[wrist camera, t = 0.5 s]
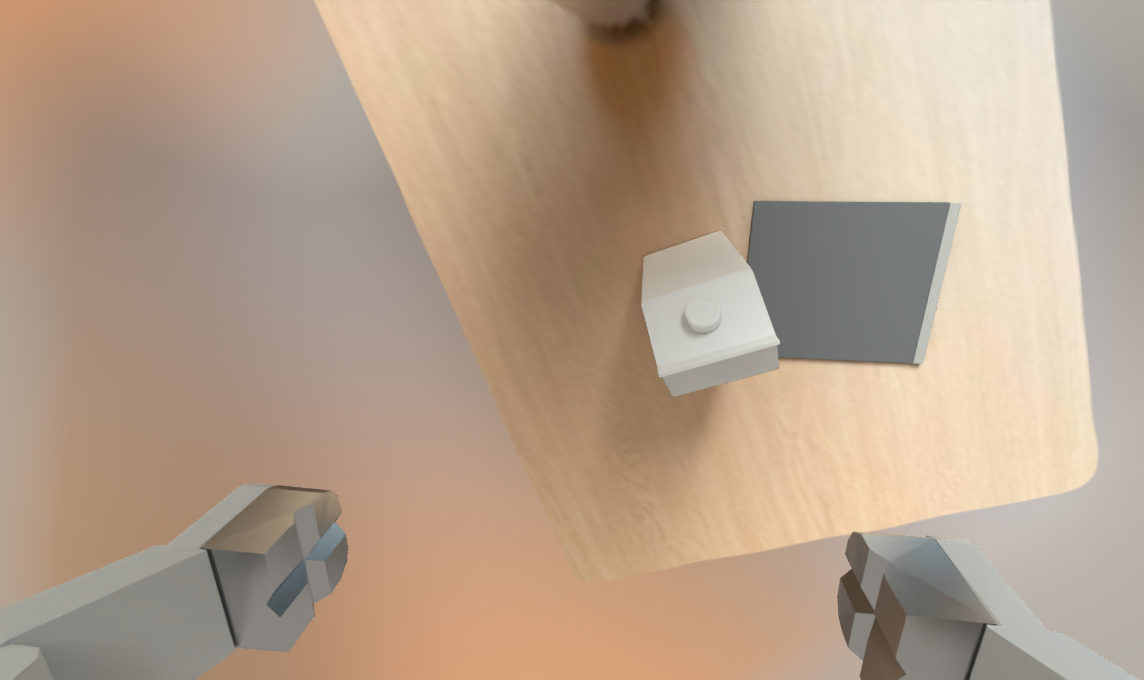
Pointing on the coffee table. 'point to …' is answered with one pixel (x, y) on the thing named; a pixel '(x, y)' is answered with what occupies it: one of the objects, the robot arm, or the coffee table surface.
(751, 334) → the milk carton
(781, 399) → the coffee table surface
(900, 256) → the mat
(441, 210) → the coffee table surface
